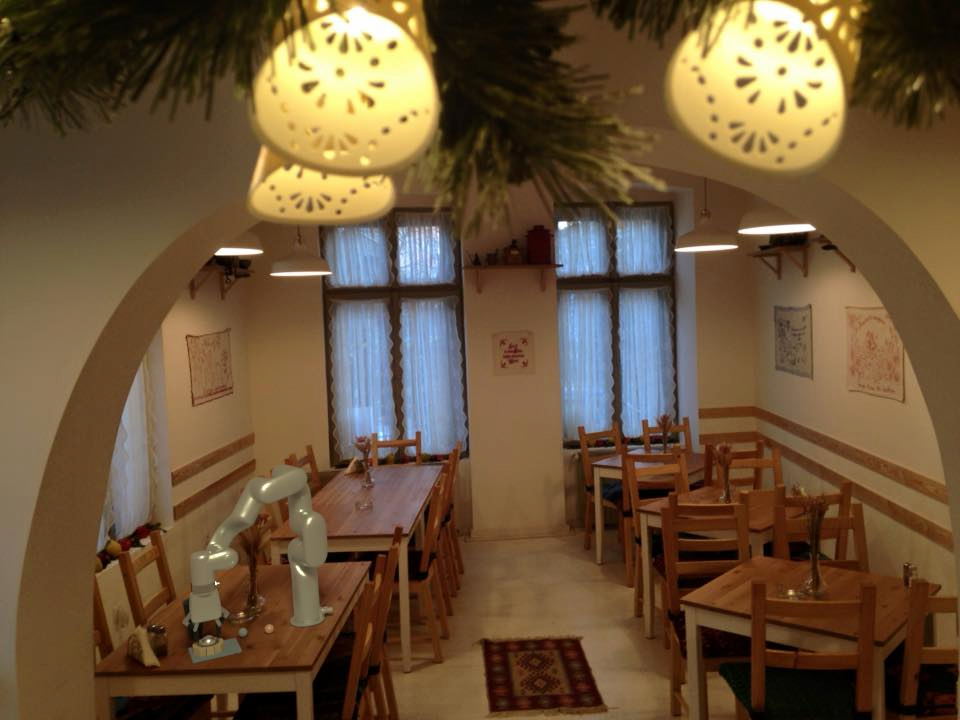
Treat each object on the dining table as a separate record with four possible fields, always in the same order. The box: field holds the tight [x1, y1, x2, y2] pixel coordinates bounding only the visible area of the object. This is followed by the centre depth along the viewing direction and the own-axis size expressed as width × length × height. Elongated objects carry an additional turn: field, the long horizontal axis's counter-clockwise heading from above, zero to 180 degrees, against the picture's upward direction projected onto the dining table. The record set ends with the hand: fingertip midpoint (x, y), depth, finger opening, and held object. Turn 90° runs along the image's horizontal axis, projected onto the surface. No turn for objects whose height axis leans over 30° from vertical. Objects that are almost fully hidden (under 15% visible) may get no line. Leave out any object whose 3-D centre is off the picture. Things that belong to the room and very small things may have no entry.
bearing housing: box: [187, 636, 243, 664], centre depth 286 cm, size 16×12×4 cm
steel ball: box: [200, 634, 216, 647], centre depth 285 cm, size 5×5×5 cm
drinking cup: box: [181, 582, 204, 641], centre depth 300 cm, size 8×8×20 cm
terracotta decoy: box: [264, 624, 275, 635], centre depth 300 cm, size 3×3×3 cm
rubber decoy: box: [237, 627, 248, 638], centre depth 298 cm, size 3×3×3 cm
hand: (207, 638), depth 285 cm, fingers open, 6 cm apart
